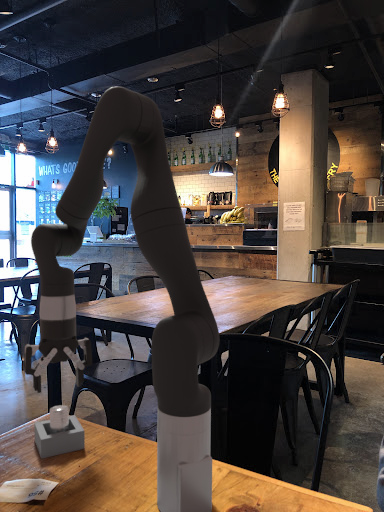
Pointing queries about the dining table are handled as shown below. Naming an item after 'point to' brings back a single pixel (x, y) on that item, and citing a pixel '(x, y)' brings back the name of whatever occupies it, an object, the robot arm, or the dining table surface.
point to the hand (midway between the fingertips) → (59, 388)
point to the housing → (59, 438)
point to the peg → (59, 419)
